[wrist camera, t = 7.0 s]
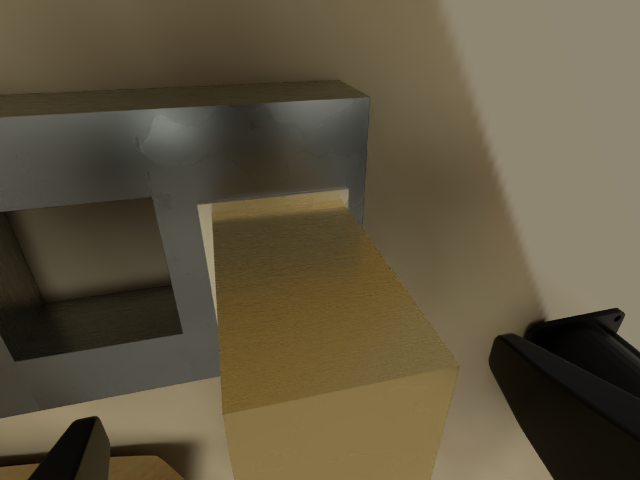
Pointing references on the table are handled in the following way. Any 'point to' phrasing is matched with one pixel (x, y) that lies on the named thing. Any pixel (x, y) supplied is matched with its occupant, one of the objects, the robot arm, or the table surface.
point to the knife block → (111, 469)
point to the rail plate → (171, 212)
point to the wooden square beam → (323, 351)
